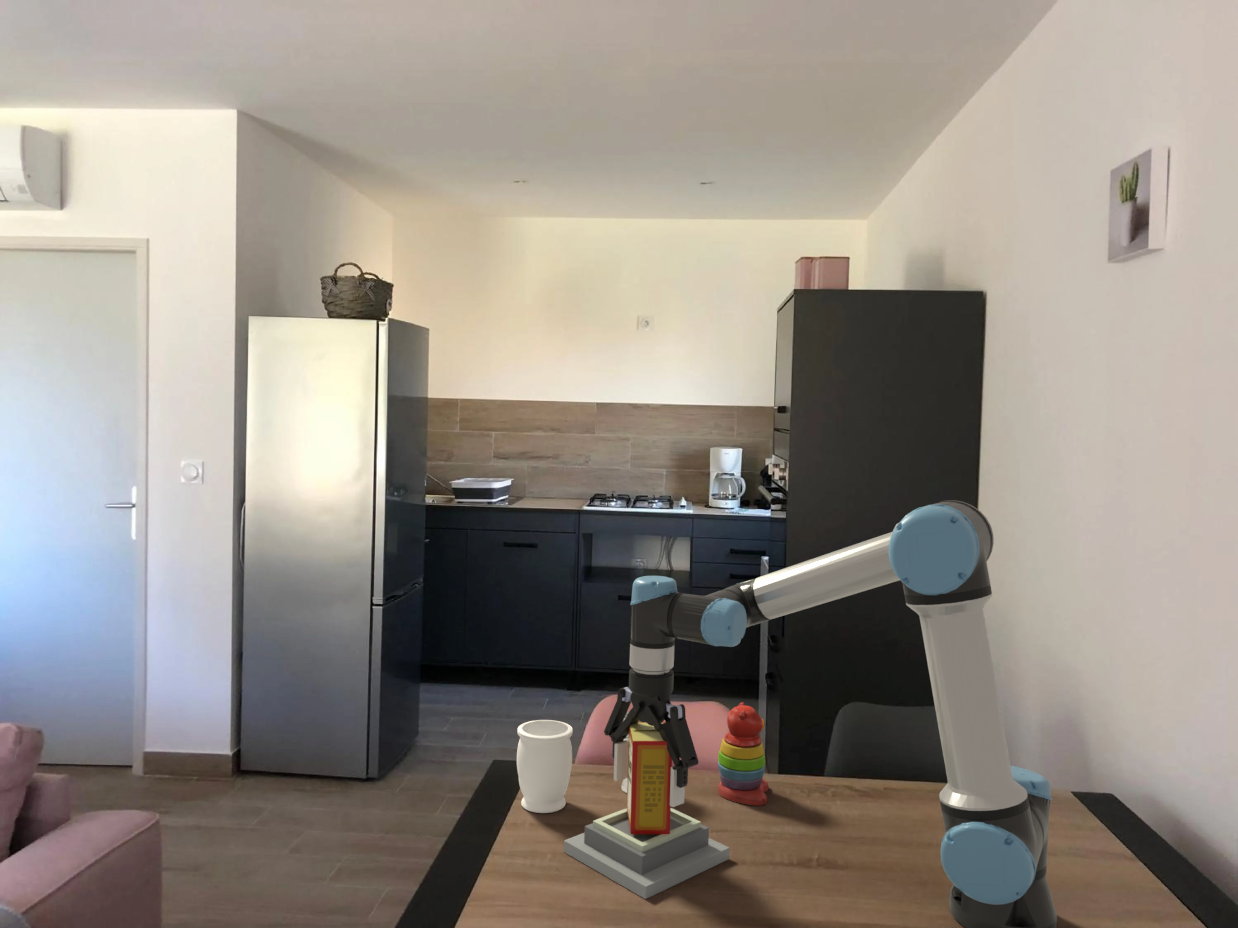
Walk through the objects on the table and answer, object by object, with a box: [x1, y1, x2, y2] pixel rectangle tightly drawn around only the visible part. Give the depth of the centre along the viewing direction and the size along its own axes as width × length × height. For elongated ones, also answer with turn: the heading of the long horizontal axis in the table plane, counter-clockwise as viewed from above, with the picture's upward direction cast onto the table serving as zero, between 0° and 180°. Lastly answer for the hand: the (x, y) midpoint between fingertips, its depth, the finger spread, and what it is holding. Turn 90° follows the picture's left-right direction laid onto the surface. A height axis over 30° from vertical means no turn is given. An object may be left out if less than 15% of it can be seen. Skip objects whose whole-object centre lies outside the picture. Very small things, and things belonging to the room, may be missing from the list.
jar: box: [516, 719, 573, 814], centre depth 176 cm, size 11×10×15 cm
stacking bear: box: [717, 701, 769, 807], centre depth 184 cm, size 11×10×18 cm
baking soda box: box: [626, 721, 673, 834], centre depth 156 cm, size 10×6×16 cm
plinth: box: [563, 807, 730, 900], centre depth 157 cm, size 20×20×6 cm
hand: (647, 791), depth 157 cm, fingers open, 13 cm apart
